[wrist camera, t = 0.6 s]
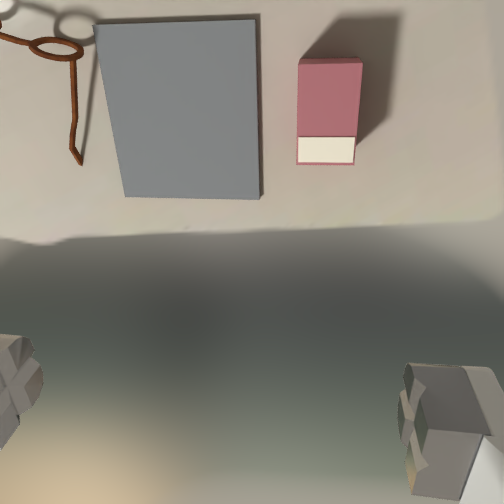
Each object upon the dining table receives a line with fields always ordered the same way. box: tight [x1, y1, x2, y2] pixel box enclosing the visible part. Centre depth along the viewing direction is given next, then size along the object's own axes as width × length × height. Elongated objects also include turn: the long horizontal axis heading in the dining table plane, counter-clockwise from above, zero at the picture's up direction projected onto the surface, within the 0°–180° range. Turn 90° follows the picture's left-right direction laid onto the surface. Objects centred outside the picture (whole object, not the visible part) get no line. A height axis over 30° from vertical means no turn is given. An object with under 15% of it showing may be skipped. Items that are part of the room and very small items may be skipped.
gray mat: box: [92, 19, 260, 200], centre depth 45 cm, size 18×16×1 cm
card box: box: [296, 57, 363, 165], centre depth 41 cm, size 9×6×5 cm, turn 2°
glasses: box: [0, 21, 84, 166], centre depth 45 cm, size 13×13×5 cm
